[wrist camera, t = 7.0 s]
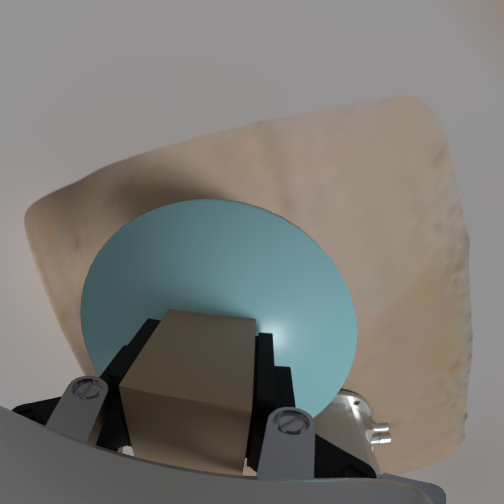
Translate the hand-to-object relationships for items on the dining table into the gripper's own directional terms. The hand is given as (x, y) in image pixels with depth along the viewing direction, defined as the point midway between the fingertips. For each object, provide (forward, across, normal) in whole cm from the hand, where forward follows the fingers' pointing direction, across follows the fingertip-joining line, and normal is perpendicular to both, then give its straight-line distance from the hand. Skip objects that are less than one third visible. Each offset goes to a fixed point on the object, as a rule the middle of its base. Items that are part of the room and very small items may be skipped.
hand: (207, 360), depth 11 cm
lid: (+1, 0, 0) cm, 1 cm away
